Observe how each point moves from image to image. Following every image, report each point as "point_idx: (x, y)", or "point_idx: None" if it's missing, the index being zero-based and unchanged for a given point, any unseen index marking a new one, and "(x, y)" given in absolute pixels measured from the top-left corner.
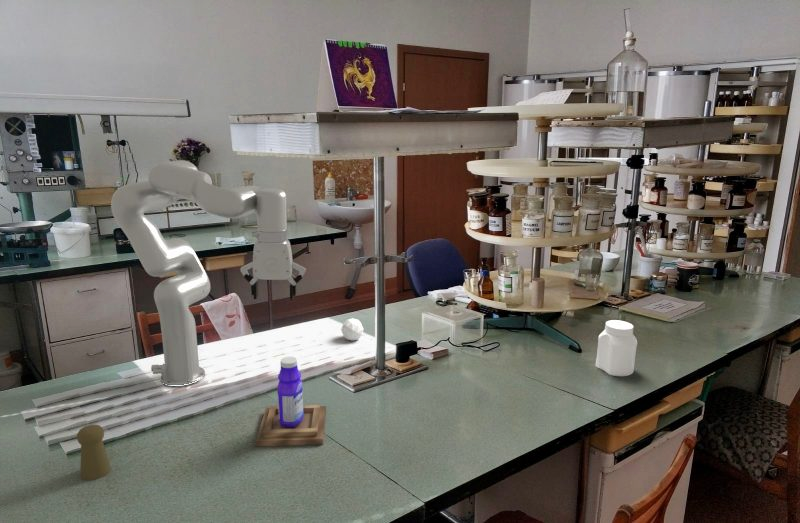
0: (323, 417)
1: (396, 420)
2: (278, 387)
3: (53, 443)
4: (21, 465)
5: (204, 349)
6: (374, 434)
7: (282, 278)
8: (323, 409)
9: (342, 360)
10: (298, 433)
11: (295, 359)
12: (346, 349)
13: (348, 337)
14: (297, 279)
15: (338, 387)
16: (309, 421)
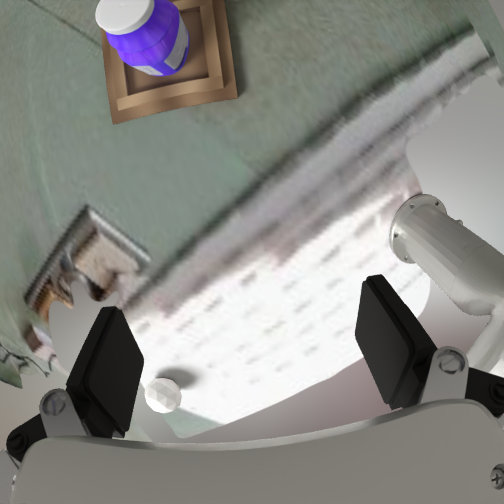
0: (108, 81)
1: (12, 127)
2: (172, 5)
3: (493, 56)
4: (493, 21)
5: None
6: (33, 75)
7: (92, 450)
8: (114, 110)
9: (150, 320)
10: None
11: (99, 15)
12: (160, 354)
13: (165, 380)
14: (34, 433)
15: (119, 220)
16: None
